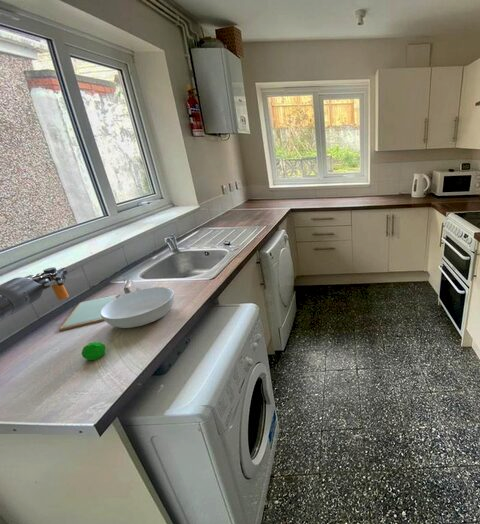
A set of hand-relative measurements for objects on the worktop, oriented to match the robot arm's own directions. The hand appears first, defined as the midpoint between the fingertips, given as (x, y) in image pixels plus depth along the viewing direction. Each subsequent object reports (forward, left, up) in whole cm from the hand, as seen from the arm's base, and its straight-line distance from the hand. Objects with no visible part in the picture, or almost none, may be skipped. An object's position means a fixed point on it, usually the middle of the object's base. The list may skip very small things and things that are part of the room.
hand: (59, 271), depth 91 cm
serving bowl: (+19, -7, -20) cm, 28 cm away
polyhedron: (+9, -25, -20) cm, 33 cm away
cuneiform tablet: (+11, +18, -20) cm, 29 cm away
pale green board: (0, +8, -20) cm, 22 cm away
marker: (-1, -3, -8) cm, 9 cm away
